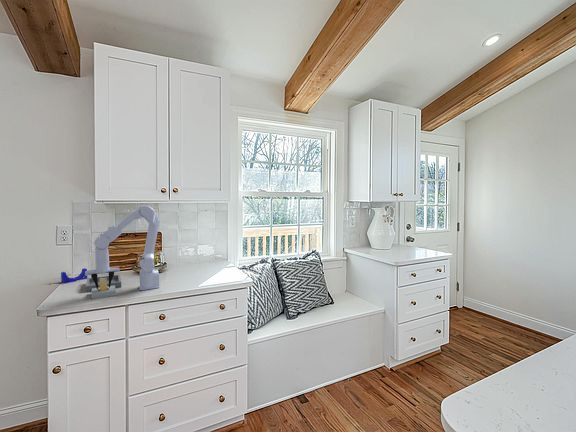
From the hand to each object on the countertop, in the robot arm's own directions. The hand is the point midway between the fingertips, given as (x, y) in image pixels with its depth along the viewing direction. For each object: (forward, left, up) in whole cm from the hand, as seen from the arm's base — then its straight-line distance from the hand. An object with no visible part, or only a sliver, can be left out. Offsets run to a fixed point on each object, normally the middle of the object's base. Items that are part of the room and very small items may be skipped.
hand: (103, 287), depth 149 cm
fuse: (0, 0, -3) cm, 3 cm away
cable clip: (+15, -38, -4) cm, 41 cm away
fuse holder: (0, 0, -3) cm, 3 cm away
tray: (0, -18, -3) cm, 18 cm away
